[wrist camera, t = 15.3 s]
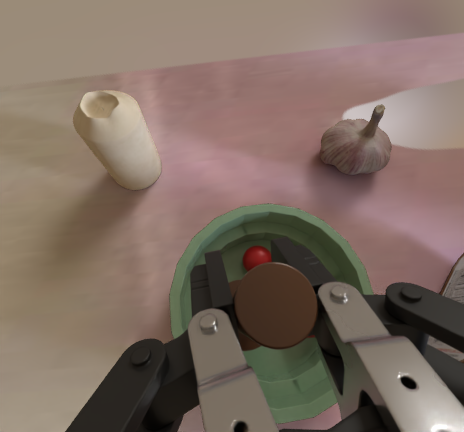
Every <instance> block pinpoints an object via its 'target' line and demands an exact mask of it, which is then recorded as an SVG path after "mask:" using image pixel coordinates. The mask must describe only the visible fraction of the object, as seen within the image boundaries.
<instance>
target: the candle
mask: <svg viewBox="0 0 464 432" xmlns="http://www.w3.org/2000/svg"><path fill="white" fill-rule="evenodd" d="M73 124H74V127H75V130H76V131H77V133H78V134H79V135H80V136H81V138H82V139H83V140H84V142H85V143H86V144H87V145H88V147H89V148H90V149H91V150H92V152H93V153H94V154H95V156H96V157H97V158H98V159H99V161H100V162H101V163H102V164H103V166H104V167H105V168H106V169H107V171H108V172H109V173H110V175H111V176H112V177H113V178H114V180H115V181H116V182H117V183H118V184H119V185H121V186H122V187H124V188H126V189H130V190H140V189H144V188H147V187H149V186H150V185H152V184H153V183H154V182H155V181H156V180H157V179H158V178H159V176H160V173H161V169H162V166H161V160H160V157H159V155H158V152H157V150H156V147H155V145H154V142H153V140H152V137H151V135H150V132H149V130H148V127H147V125H146V122H145V120H144V117H143V115H142V112H141V110H140V107H139V105H138V103H137V102H136V100H135V99H134V98H132V97H131V96H130V95H128V94H126V93H123V92H119V91H113V90H102V91H94V92H88V93H86V94H85V95H84V96H83V98H82V100H81V102H80V104H79V105H78V107H77V109H76V111H75V113H74V117H73Z"/></svg>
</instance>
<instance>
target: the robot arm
mask: <svg viewBox="0 0 464 432" xmlns="http://www.w3.org/2000/svg"><path fill="white" fill-rule="evenodd" d="M270 245H271V259H272V262H280V263H284V264H288V265H290V266H292V267H294V268H296V269H297V270H299V271H300V272H301V273H302V274H303V275H304V276H305V277H306V278H307V279H308V281H309V282H310V284H311V285H312V287H313V289H314V292H315V294H316V298H317V305H318V313H317V319H316V323H315V325H314V327H313V329H312V331H311V333H310V334H309V335H308V336H312V335H314V336H315V337H316V339H317V350H318V354H319V356H320V359H321V361H322V364H323V366H324V369H325V371H326V374H327V376H328V379H329V381H330V384H331V386H332V389H333V391H334V394H335V396H336V399H337V401H338V405H339V408H340V413H341V419H342V421H340V422H339V423H338V424H336V425H335V426H333V427H332V428H330V429H328V430H303V429H282V430H278V427H277V425H276V423H275V420H274V418H273V415H272V413H271V410H270V408H269V406H268V403H267V401H266V398H265V396H264V393H263V391H262V389H261V386H260V384H259V381H258V379H257V376H256V374H255V372H254V370H253V368H252V367H251V366H248V364H247V362H246V359H245V357H244V354H243V352H242V349H241V346H240V340H239V334H238V327H237V322H236V319H235V314H234V302H233V298H232V294H231V291H230V287H229V283H228V279H227V275H226V271H225V267H224V263H223V260H222V256H221V252H220V250H216V251H211V252H206V253H204V255H205V262H206V264H202V265H197V266H194V268H193V270H192V271H191V273H190V283H191V284H190V286H191V309H192V319H191V320H190V322H189V324H188V328H187V330H186V331H185V332H184V333H183V334H181V335H180V336H179V337H177V338H175V339H174V340H172V341H170V342H168V343H166V344H163V343H162V342H161V341H159V340H157V339H144V340H141V341H139V342H136V343H135V344H133V345H132V346H130V347H129V348H128V349H127V350H126V351H125V352H124V353H123V354H122V356H121V357H120V358H119V360H118V361H117V362H116V364H115V365H114V366H113V368H112V369H111V370H110V372H109V373H108V375H107V376H106V377H105V379H104V380H103V381H102V383H101V384H100V385H99V387H98V388H97V389H96V391H95V392H94V393H93V395H92V396H91V398H90V399H89V400H88V402H87V403H86V404H85V406H84V407H83V408H82V410H81V411H80V412H79V414H78V415H77V417H76V418H75V419H74V421H73V422H72V423H71V425H70V426H69V427H68V429H67V430H66V431H65V432H177V431H178V429H179V426H180V424H181V421H182V419H183V415H184V414H185V413H187V412H188V411H190V410H191V409H193V408H194V407H196V406H197V405H199V404H200V408H201V413H202V419H203V425H204V430H205V432H464V363H462V362H460V361H458V360H456V359H455V358H453V357H451V356H449V355H447V354H445V353H444V352H442V351H440V350H438V349H436V348H434V347H433V346H431V345H429V344H427V343H428V339H429V336H431V337H433V338H435V339H437V340H439V341H441V342H443V343H445V344H447V345H449V346H450V347H452V348H454V349H456V350H458V351H460V352H462V353H464V304H462V303H460V302H457V301H455V300H452V299H450V298H447V297H445V296H443V295H440V294H438V293H435V292H433V291H430V290H428V289H425V288H423V287H421V286H418V285H415V284H411V283H404V282H399V283H394V284H391V285H389V286H388V287H387V289H386V295H366V294H360V292H359V291H358V290H357V289H356V288H355V287H353V286H351V285H349V284H347V283H343V282H338V281H337V280H336V279H335V278H334V277H333V276H332V274H331V273H330V272H329V271H328V270H327V269H326V268H325V266H324V265H323V264H322V263H320V261H319V260H318V259H317V257H315V255H314V254H313V253H312V252H311V251H310V249H308V248H306V247H304V246H302V245H297V246H294V244H293V243H292V242H291V241H290V239H289V238H288V237H282V238H277V239H272V240H271V242H270Z"/></svg>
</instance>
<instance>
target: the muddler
mask: <svg viewBox="0 0 464 432" xmlns="http://www.w3.org/2000/svg"><path fill="white" fill-rule="evenodd" d="M229 287H230V291H231V294H232V298H233V302H234V314H235V319H236V322H237V327H238V334H239V340H240V346H241V349H242V351H251V350H254V349H257V348H259V347H261V346H263V347H266V348H269V349H275V350H283V349H288V348H292V347H294V346H296V345H298V344H300V343H301V342H303V341H304V340H305V339H306V338H307V337H308V335H309V334H310V333H311V331H312V329H313V327H314V325H315V323H316V319H317V313H318V305H317V298H316V294H315V292H314V289H313V287H312V285H311V284H310V282H309V281H308V279H307V278H306V277H305V276H304V275H303V274H302V273H301V272H300V271H299V270H297V269H296V268H294V267H292V266H290V265H288V264H284V263H280V262H267V263H263V264H260V265H257V266H256V267H254V268H252V269H251V270H250V271H248V272H247V273H246V274H245V275H244V277H243V278H242V279H240V280H235V281H231V282H229Z"/></svg>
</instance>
